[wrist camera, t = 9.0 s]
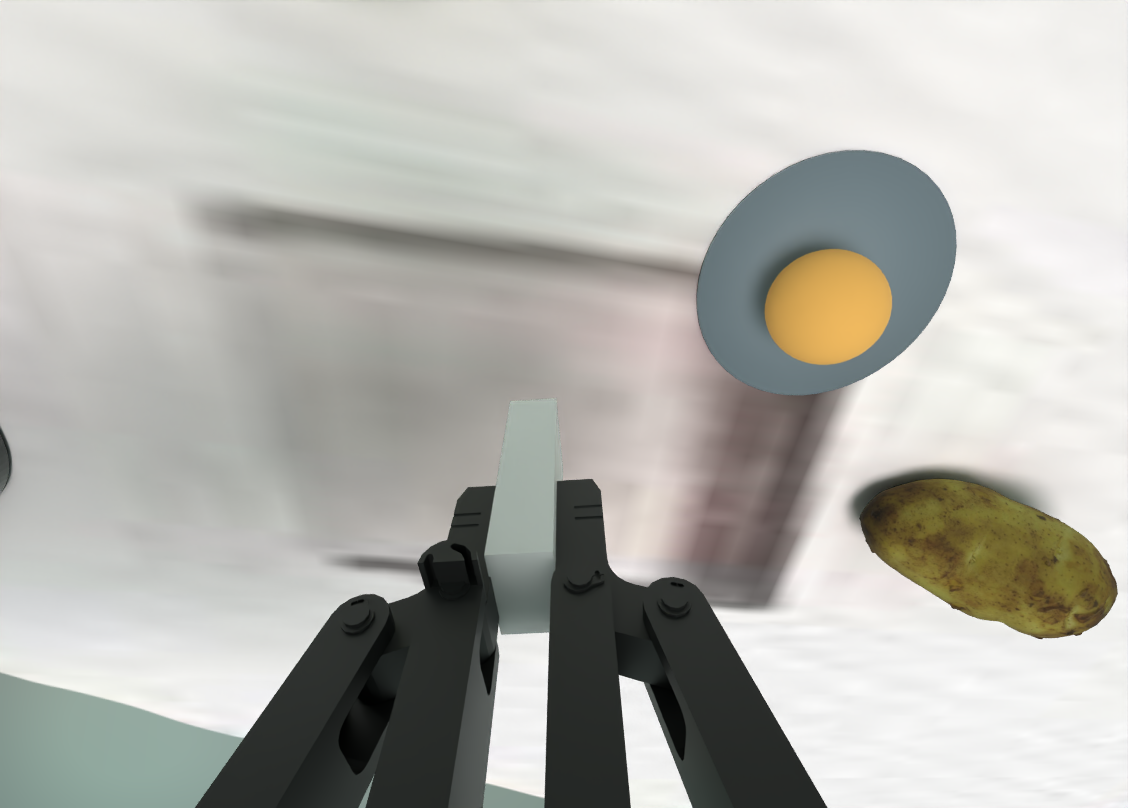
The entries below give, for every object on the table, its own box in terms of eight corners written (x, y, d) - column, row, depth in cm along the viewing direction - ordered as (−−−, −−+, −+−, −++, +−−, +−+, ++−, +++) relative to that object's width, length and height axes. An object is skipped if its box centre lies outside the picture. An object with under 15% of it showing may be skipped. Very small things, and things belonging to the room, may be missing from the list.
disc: (721, 418, 32) (721, 420, 32) (671, 206, 26) (672, 207, 26) (950, 356, 30) (953, 357, 29) (957, 106, 23) (960, 106, 23)
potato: (935, 422, 32) (1035, 513, 25) (1060, 510, 35) (1177, 611, 28) (831, 508, 36) (893, 608, 29) (953, 580, 39) (1034, 685, 32)
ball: (786, 343, 30) (760, 385, 26) (772, 248, 28) (742, 278, 24) (900, 334, 27) (889, 381, 23) (893, 225, 25) (880, 256, 21)
